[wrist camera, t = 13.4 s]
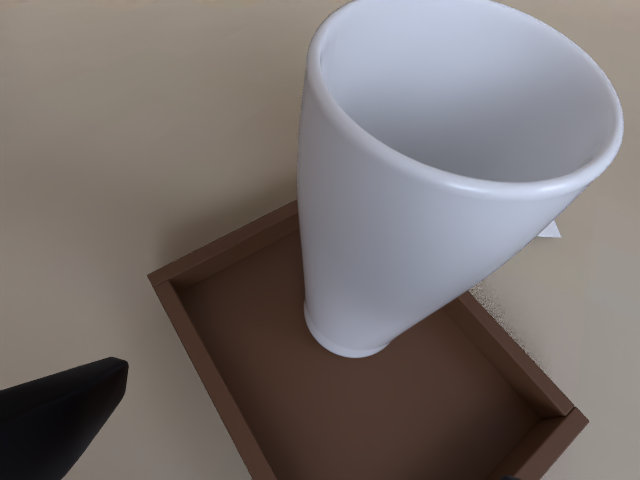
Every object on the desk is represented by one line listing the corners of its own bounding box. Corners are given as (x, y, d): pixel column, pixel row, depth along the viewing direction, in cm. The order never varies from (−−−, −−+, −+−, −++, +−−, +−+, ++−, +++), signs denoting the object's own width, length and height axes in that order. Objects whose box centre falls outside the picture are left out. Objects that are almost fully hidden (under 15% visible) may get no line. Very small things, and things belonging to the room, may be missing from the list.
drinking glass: (279, 270, 21) (273, -12, 8) (386, 249, 23) (521, -20, 10) (305, 390, 18) (361, 229, 5) (428, 357, 19) (712, 167, 7)
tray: (555, 425, 19) (590, 421, 17) (349, 653, 14) (361, 689, 12) (349, 193, 25) (355, 169, 23) (160, 293, 20) (146, 274, 18)
